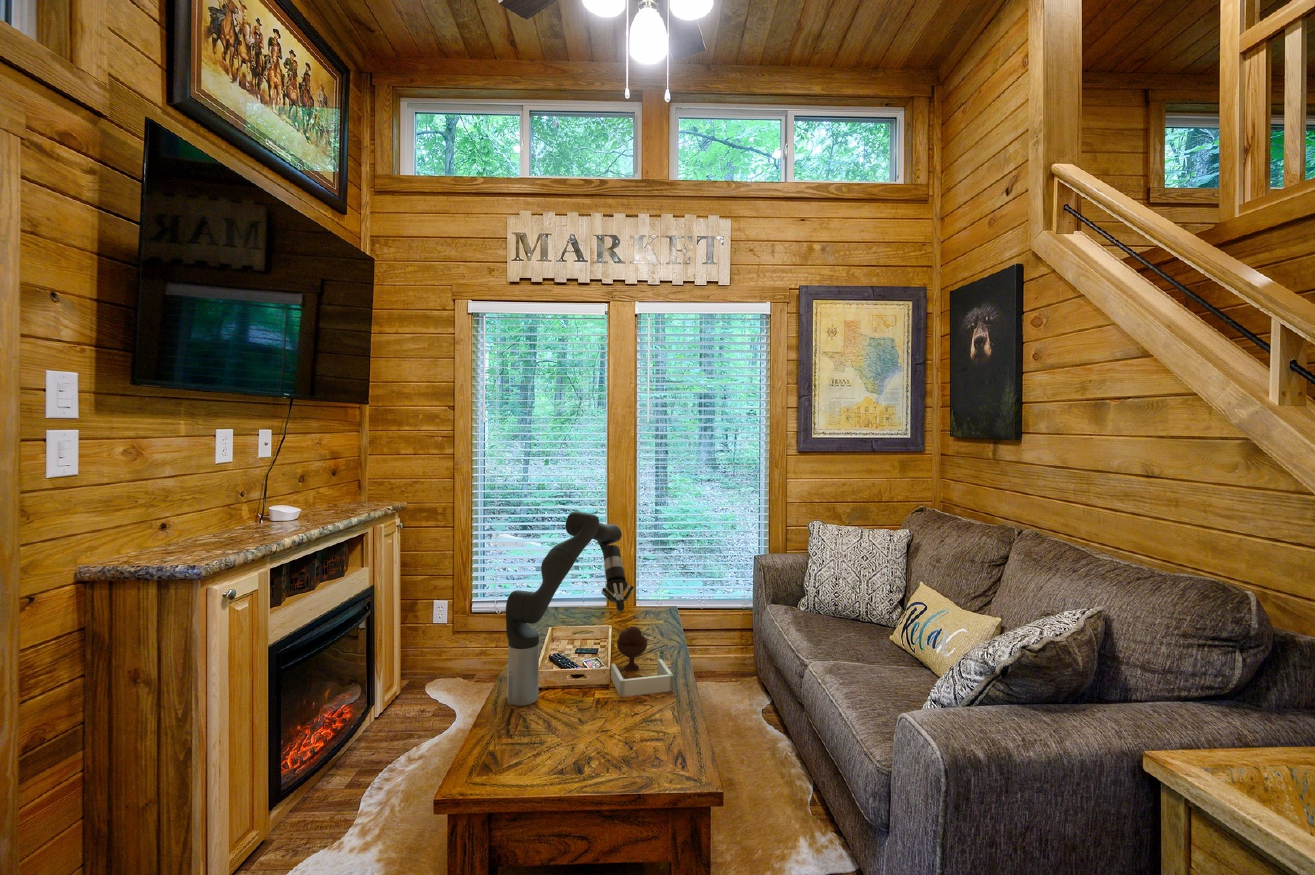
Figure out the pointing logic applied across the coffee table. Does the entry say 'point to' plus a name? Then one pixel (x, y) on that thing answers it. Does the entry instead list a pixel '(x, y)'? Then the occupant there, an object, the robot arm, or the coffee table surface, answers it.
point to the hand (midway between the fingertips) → (621, 610)
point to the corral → (643, 682)
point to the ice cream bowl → (631, 646)
